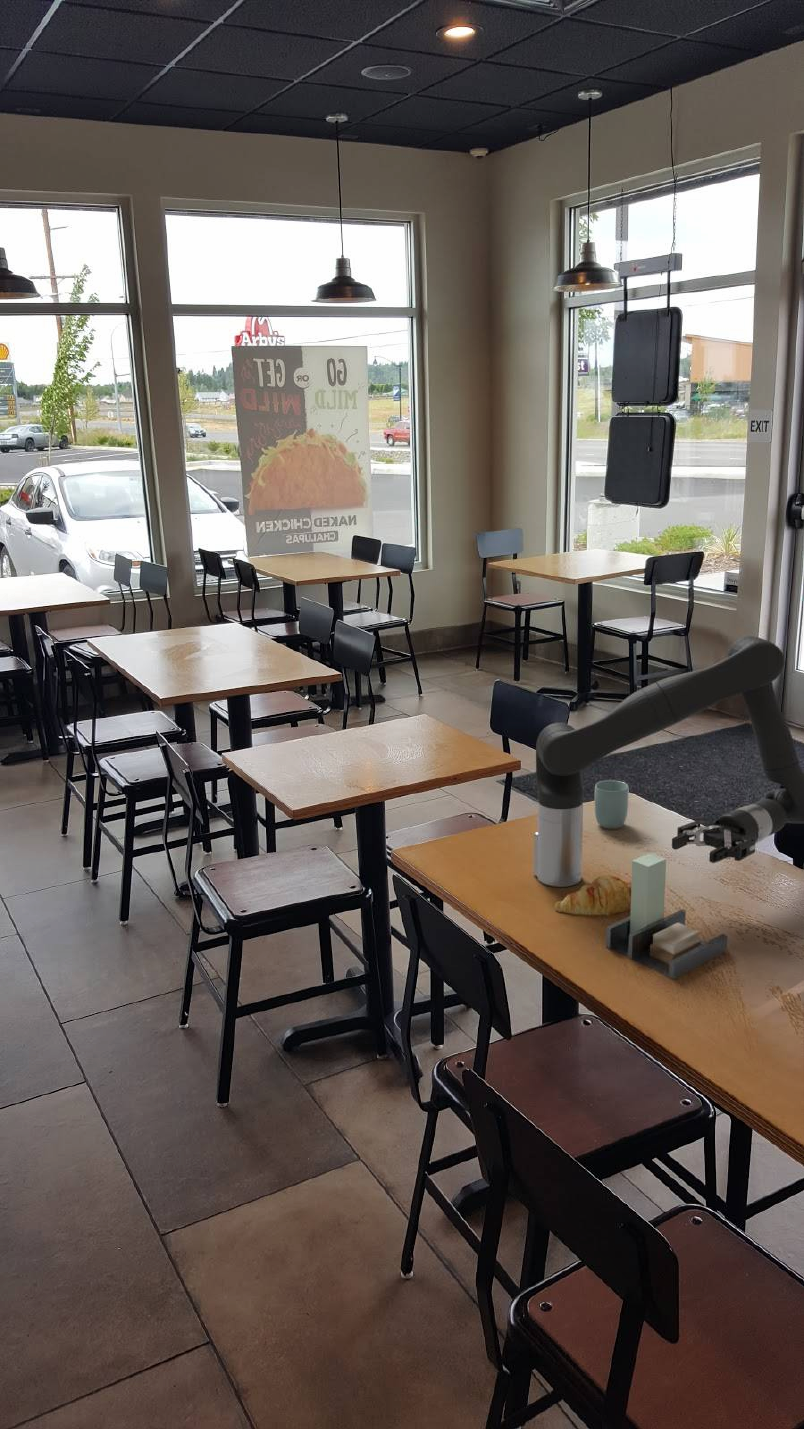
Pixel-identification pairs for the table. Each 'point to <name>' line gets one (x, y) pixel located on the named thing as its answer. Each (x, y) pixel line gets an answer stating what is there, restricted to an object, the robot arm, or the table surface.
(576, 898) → the croissant
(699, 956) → the rack
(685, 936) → the offcut upper
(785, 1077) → the table surface
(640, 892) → the tall mint green block
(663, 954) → the offcut lower
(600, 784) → the cup
